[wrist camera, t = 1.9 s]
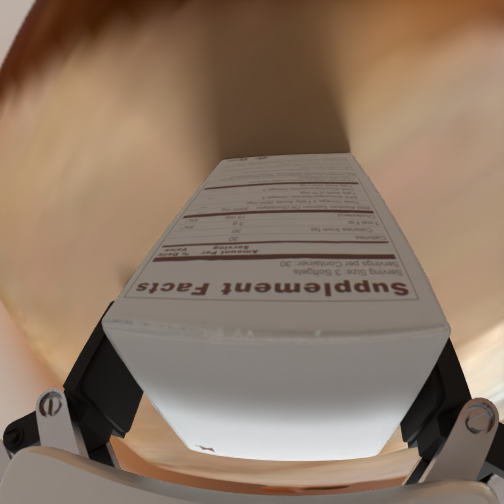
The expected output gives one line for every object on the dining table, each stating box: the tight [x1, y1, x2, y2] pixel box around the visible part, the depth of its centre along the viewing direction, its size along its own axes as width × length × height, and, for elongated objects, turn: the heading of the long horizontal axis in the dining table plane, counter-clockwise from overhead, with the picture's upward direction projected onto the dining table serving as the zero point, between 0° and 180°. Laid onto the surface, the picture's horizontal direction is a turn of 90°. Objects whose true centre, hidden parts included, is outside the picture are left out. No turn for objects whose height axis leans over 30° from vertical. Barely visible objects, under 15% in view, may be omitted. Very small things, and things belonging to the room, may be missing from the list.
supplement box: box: [102, 153, 451, 461], centre depth 12 cm, size 7×7×13 cm
